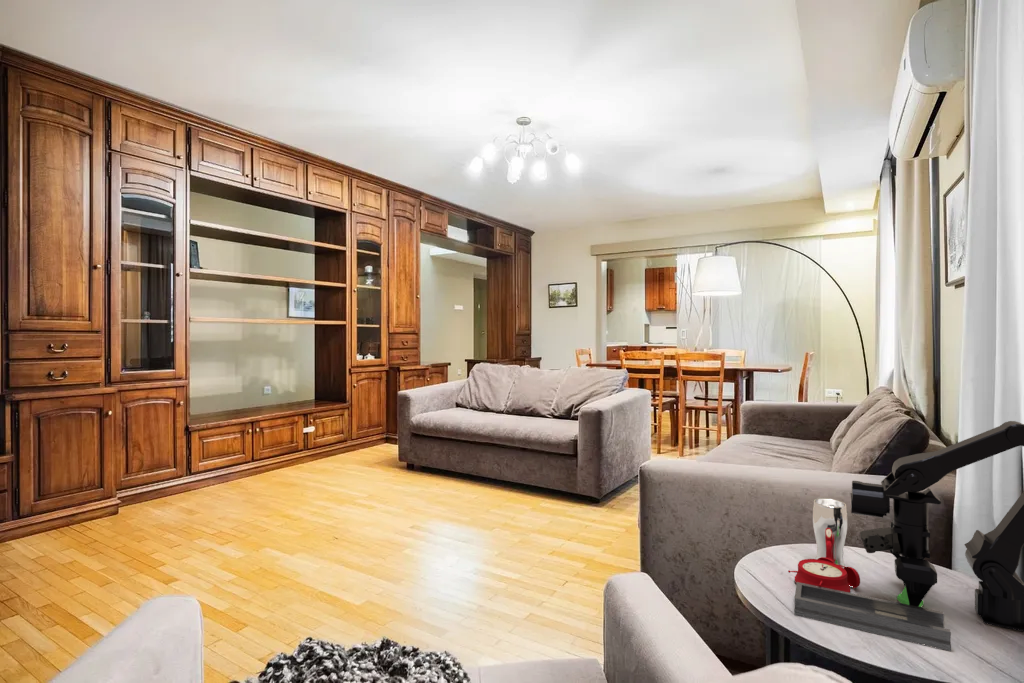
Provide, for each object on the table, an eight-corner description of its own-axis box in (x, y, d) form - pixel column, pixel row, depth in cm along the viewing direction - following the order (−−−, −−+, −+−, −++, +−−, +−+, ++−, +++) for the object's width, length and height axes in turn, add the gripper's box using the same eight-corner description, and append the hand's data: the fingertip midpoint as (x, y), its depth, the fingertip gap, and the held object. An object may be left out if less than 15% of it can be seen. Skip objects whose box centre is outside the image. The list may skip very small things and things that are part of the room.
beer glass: (834, 575, 120) (834, 509, 119) (806, 562, 126) (805, 500, 126) (854, 568, 122) (854, 504, 122) (826, 557, 129) (825, 496, 128)
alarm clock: (780, 565, 116) (823, 539, 122) (784, 592, 117) (827, 564, 123) (826, 586, 107) (870, 556, 113) (830, 614, 108) (874, 583, 114)
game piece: (896, 595, 111) (896, 566, 110) (921, 600, 108) (921, 571, 108) (898, 604, 107) (898, 575, 107) (925, 610, 105) (925, 580, 105)
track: (941, 625, 99) (941, 609, 99) (951, 651, 91) (951, 634, 91) (796, 594, 112) (796, 580, 111) (794, 614, 104) (794, 599, 104)
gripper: (860, 501, 119) (860, 569, 120) (865, 529, 103) (865, 608, 104) (922, 509, 114) (922, 581, 114) (937, 540, 98) (937, 623, 98)
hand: (910, 596), depth 108 cm, fingers open, 9 cm apart
